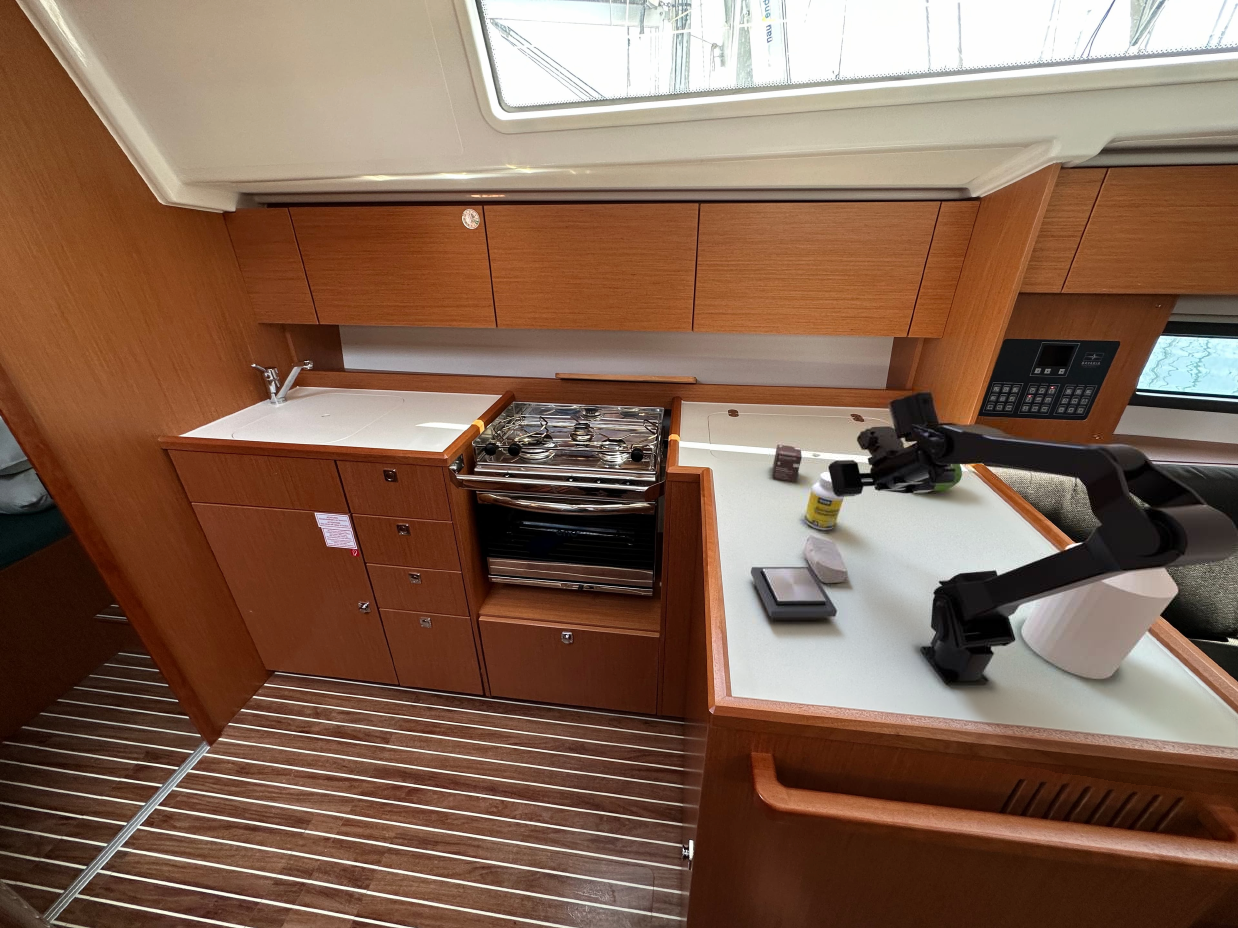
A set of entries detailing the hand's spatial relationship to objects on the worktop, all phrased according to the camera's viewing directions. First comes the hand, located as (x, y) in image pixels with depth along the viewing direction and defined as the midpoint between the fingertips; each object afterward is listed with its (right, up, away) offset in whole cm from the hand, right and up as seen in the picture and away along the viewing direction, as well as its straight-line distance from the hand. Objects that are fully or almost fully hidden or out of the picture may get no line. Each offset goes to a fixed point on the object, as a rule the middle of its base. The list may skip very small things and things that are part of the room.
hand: (853, 488), depth 92 cm
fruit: (+32, -1, +29) cm, 43 cm away
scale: (-16, -19, -10) cm, 27 cm away
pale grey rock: (-7, -15, -1) cm, 17 cm away
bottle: (+25, -25, -17) cm, 39 cm away
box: (-3, +2, +32) cm, 32 cm away
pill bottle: (-2, -8, +12) cm, 15 cm away
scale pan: (-16, -17, -11) cm, 26 cm away
